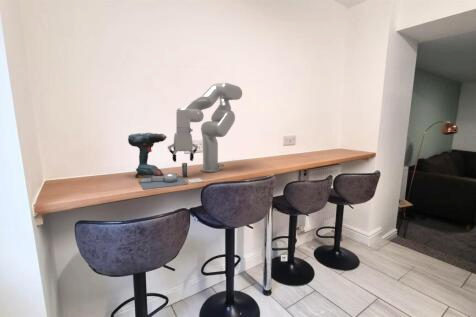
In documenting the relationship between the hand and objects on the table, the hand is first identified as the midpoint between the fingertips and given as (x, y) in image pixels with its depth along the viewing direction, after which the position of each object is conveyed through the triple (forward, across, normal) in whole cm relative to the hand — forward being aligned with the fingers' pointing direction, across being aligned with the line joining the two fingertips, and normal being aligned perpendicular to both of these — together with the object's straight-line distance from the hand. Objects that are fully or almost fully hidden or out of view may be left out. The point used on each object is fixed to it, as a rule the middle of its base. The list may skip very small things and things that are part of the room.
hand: (183, 161), depth 136 cm
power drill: (+10, +16, -10) cm, 21 cm away
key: (+9, -1, 0) cm, 9 cm away
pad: (+9, -3, +12) cm, 15 cm away
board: (+10, +13, +6) cm, 17 cm away
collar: (+9, +14, +4) cm, 17 cm away
